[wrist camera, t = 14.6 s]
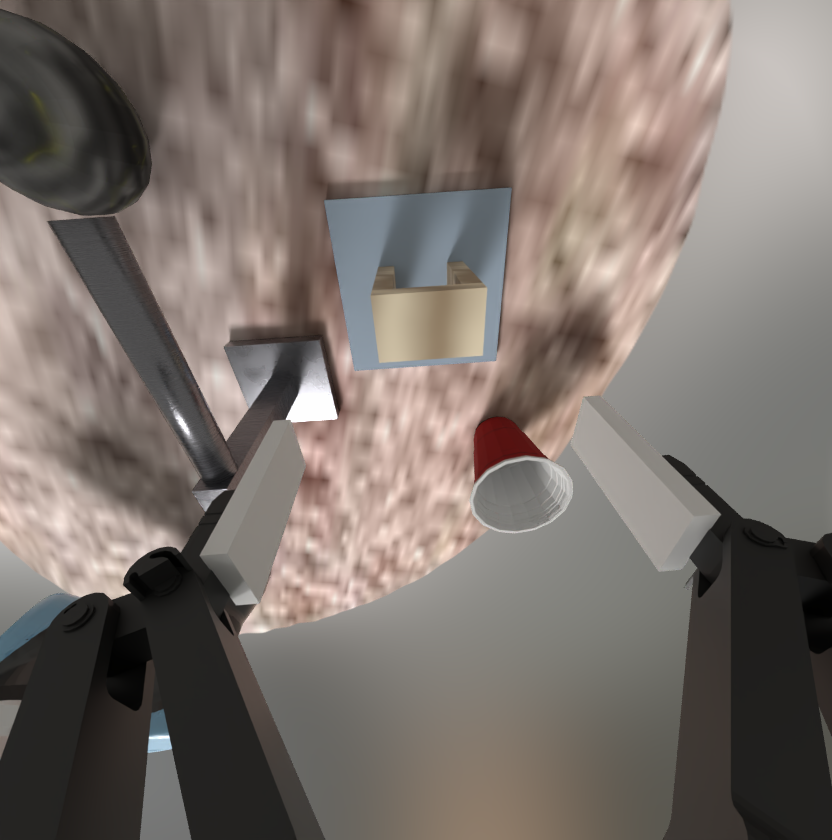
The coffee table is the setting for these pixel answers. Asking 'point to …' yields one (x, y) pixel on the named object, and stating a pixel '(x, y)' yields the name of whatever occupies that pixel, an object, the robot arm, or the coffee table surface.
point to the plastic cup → (515, 480)
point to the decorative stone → (66, 125)
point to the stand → (170, 374)
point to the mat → (417, 256)
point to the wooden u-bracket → (429, 316)
